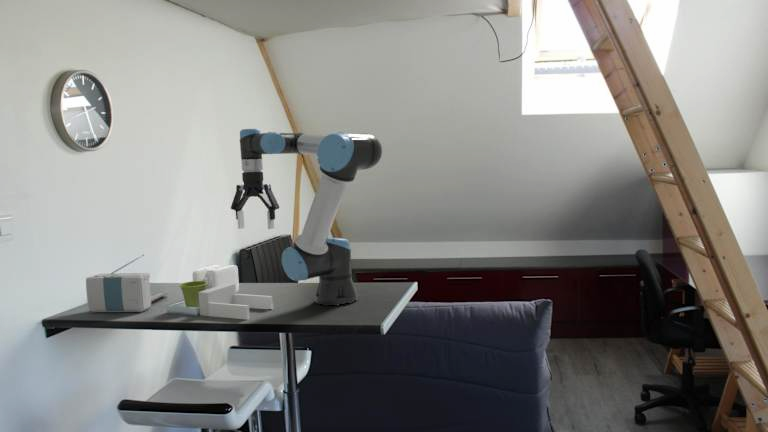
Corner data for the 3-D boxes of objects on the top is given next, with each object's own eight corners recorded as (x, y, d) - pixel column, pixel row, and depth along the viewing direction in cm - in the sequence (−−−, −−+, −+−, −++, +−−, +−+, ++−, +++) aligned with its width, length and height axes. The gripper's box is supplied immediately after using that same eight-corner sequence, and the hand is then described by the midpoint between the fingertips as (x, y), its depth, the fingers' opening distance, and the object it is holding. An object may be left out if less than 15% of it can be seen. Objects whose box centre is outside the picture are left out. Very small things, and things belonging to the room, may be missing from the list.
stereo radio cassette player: (87, 314, 209) (82, 258, 207) (101, 308, 217) (96, 254, 215) (142, 313, 206) (137, 257, 204) (154, 307, 214) (150, 253, 212)
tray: (223, 306, 211) (222, 299, 211) (196, 315, 199) (196, 308, 199) (194, 304, 217) (194, 297, 217) (167, 313, 205) (166, 306, 205)
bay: (273, 308, 204) (272, 286, 204) (247, 319, 191) (245, 295, 191) (227, 305, 213) (226, 283, 212) (200, 315, 200) (198, 292, 199)
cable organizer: (215, 302, 219) (213, 271, 218) (192, 300, 223) (190, 270, 222) (239, 293, 233) (238, 264, 232) (218, 291, 237) (216, 263, 236)
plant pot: (204, 310, 203) (203, 285, 202) (177, 311, 203) (175, 287, 202) (212, 303, 212) (210, 280, 212) (186, 305, 212) (184, 281, 211)
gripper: (218, 172, 218) (222, 229, 220) (274, 170, 207) (278, 230, 209) (232, 171, 225) (235, 226, 227) (286, 169, 214) (289, 227, 216)
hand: (256, 228), depth 218 cm, fingers open, 13 cm apart
